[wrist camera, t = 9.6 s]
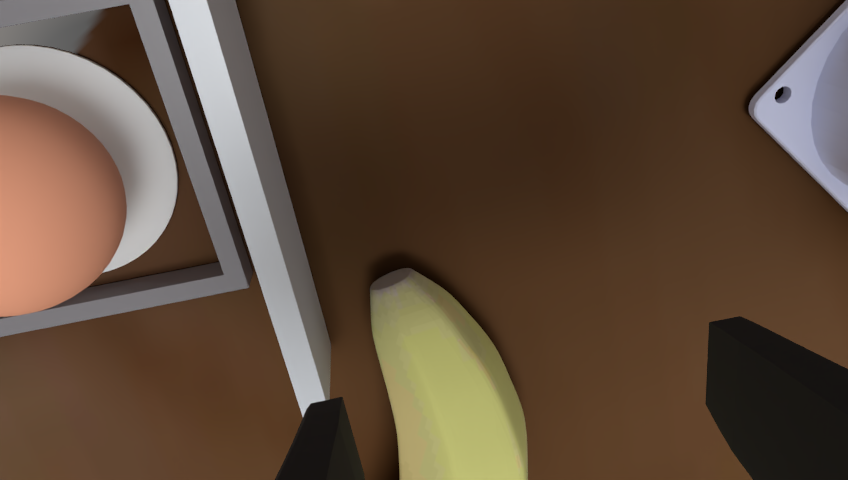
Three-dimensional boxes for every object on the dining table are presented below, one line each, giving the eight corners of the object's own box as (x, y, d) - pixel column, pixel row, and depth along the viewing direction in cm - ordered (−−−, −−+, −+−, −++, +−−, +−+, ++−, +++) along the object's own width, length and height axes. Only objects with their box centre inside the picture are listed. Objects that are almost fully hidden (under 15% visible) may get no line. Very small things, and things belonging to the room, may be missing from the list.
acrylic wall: (147, -190, 16) (98, -218, 12) (180, -196, 16) (139, -226, 12) (308, 349, 23) (302, 417, 20) (331, 344, 23) (329, 411, 20)
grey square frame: (155, -29, 17) (144, -26, 16) (252, 272, 21) (248, 287, 20) (-199, 36, 17) (-229, 42, 16) (-30, 327, 21) (-47, 346, 20)
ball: (-4, 30, 17) (-144, 74, 12) (185, 150, 19) (131, 229, 14) (-89, 189, 19) (-243, 284, 14) (95, 285, 21) (18, 399, 16)
